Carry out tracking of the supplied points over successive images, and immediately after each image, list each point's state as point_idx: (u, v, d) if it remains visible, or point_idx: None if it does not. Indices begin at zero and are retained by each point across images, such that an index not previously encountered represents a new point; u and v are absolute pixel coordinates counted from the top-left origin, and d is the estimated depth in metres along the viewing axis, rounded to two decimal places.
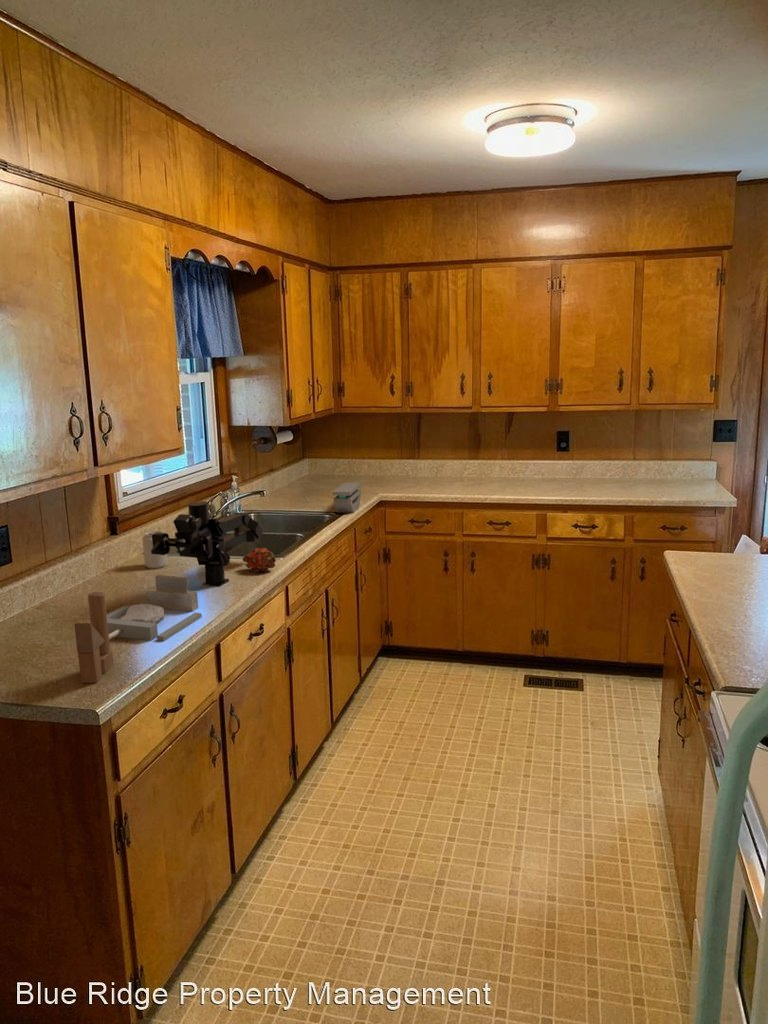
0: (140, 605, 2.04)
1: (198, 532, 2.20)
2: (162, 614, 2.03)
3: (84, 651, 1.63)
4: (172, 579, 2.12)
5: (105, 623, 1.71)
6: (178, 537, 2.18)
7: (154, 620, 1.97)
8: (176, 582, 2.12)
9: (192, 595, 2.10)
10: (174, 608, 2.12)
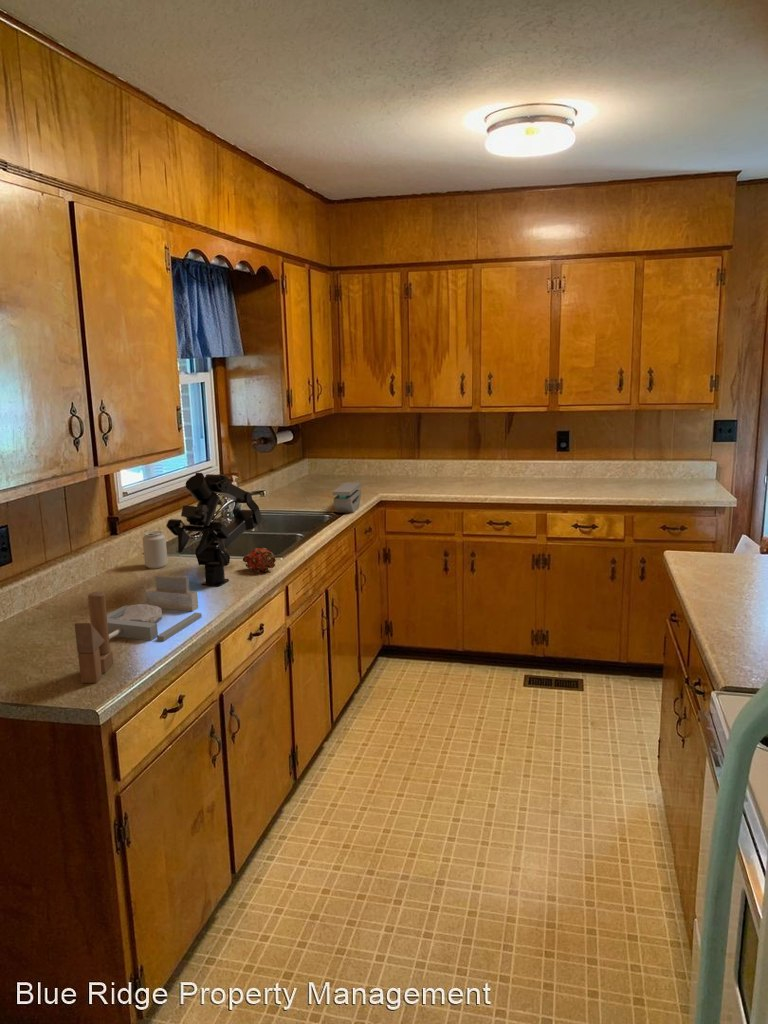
0: (138, 605, 2.04)
1: (207, 510, 2.25)
2: (160, 614, 2.03)
3: (84, 651, 1.63)
4: (172, 579, 2.12)
5: (105, 623, 1.71)
6: (191, 522, 2.24)
7: (152, 620, 1.97)
8: (176, 582, 2.12)
9: (192, 595, 2.10)
10: (174, 608, 2.12)
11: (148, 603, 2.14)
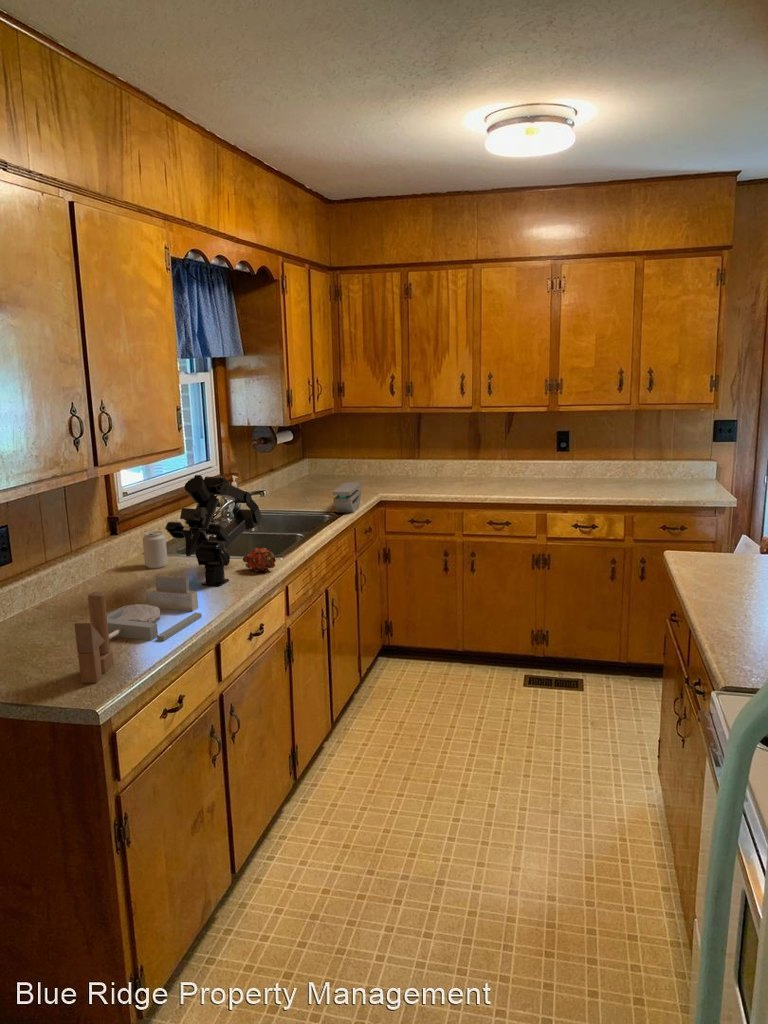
0: (136, 605, 2.04)
1: (206, 512, 2.24)
2: (158, 614, 2.03)
3: (84, 651, 1.63)
4: (172, 579, 2.12)
5: (105, 623, 1.71)
6: (190, 524, 2.24)
7: (150, 620, 1.97)
8: (176, 582, 2.12)
9: (192, 595, 2.10)
10: (174, 608, 2.12)
11: (148, 603, 2.14)
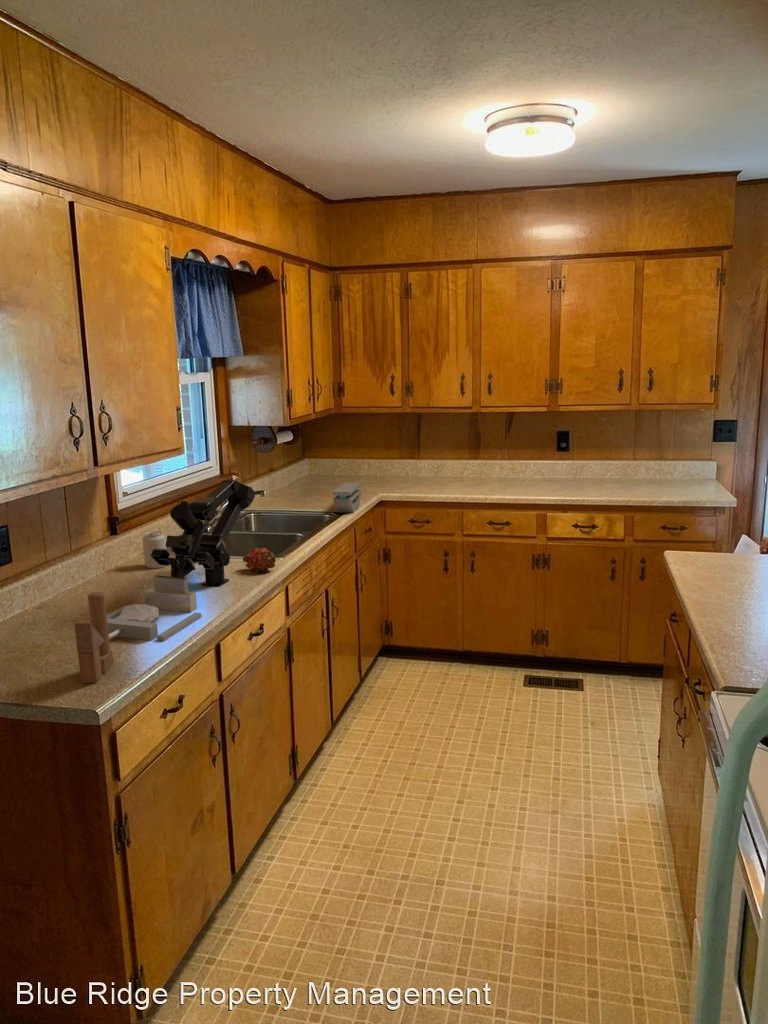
0: (135, 605, 2.04)
1: (192, 539, 2.18)
2: (157, 614, 2.03)
3: (84, 651, 1.63)
4: (171, 580, 2.11)
5: (105, 623, 1.71)
6: (176, 552, 2.17)
7: (149, 620, 1.97)
8: (175, 583, 2.11)
9: (191, 596, 2.09)
10: (173, 609, 2.11)
11: (146, 604, 2.13)
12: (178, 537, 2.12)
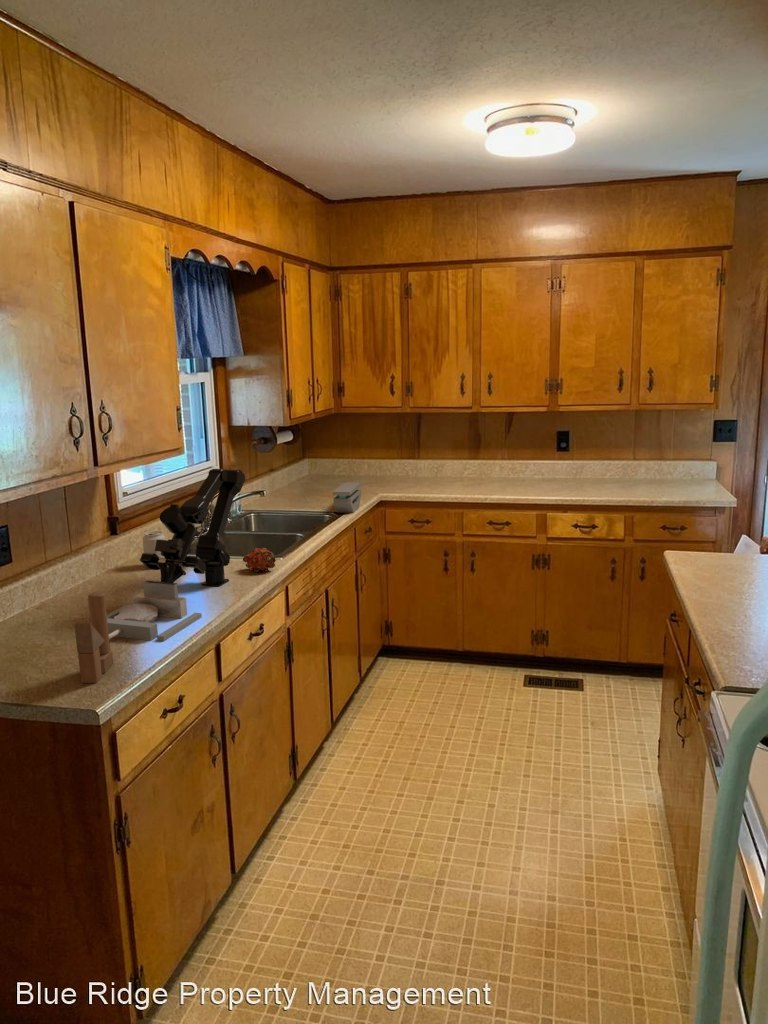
0: (134, 604, 2.04)
1: (182, 543, 2.13)
2: (156, 613, 2.03)
3: (84, 651, 1.63)
4: (160, 585, 2.06)
5: (105, 623, 1.71)
6: (165, 556, 2.12)
7: (147, 619, 1.97)
8: (164, 588, 2.06)
9: (181, 602, 2.04)
10: (162, 615, 2.06)
11: None
12: (168, 541, 2.07)
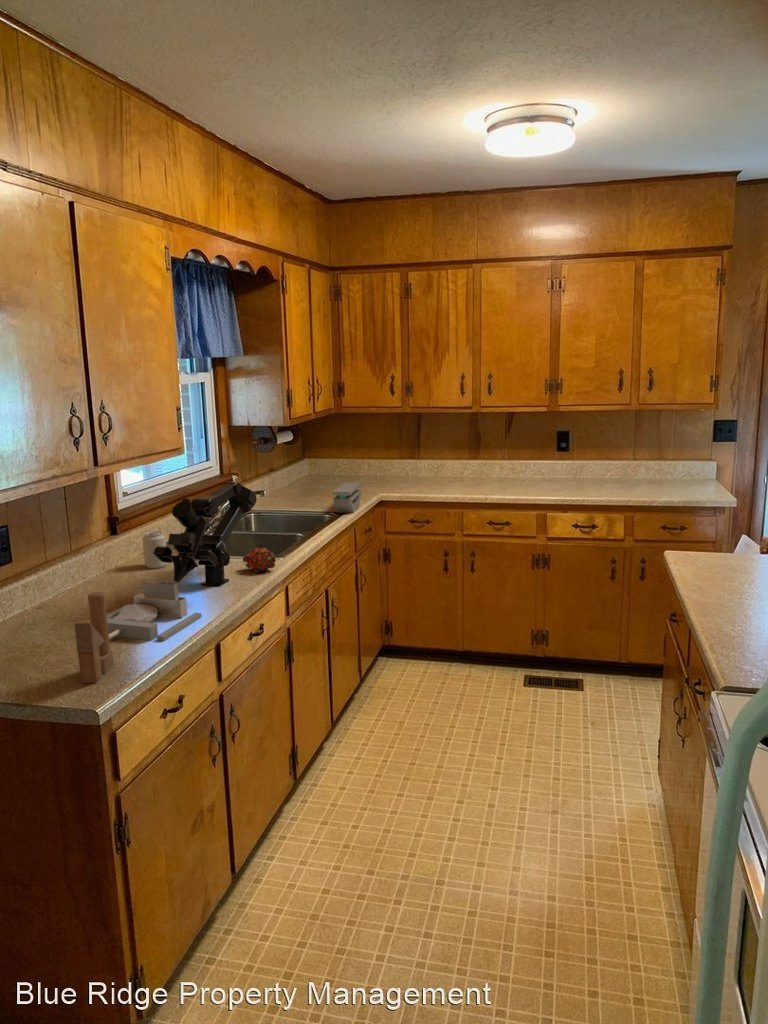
0: (134, 605, 2.04)
1: (194, 537, 2.19)
2: (155, 614, 2.03)
3: (84, 651, 1.63)
4: (160, 585, 2.06)
5: (105, 623, 1.71)
6: (178, 549, 2.18)
7: (146, 620, 1.97)
8: (164, 588, 2.06)
9: (181, 602, 2.04)
10: (162, 615, 2.06)
11: None
12: (180, 535, 2.13)
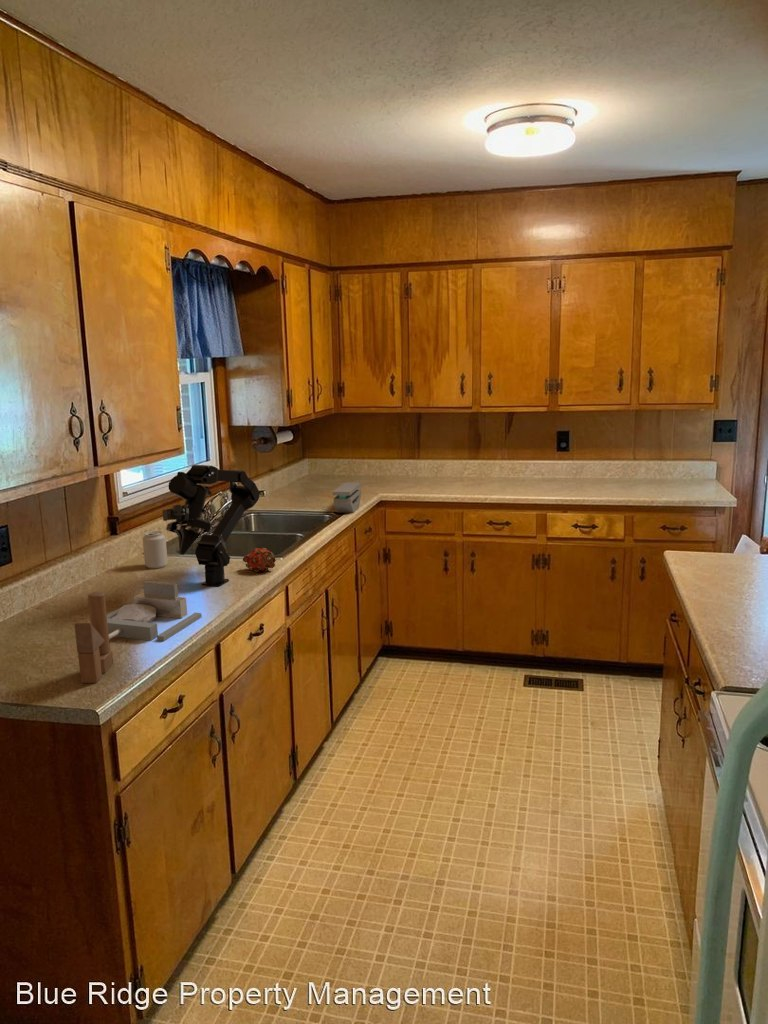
0: (132, 605, 2.04)
1: (188, 507, 2.20)
2: (154, 614, 2.03)
3: (84, 651, 1.63)
4: (160, 585, 2.06)
5: (105, 623, 1.71)
6: (181, 522, 2.22)
7: (145, 620, 1.97)
8: (164, 588, 2.06)
9: (181, 602, 2.04)
10: (162, 615, 2.06)
11: None
12: (167, 510, 2.16)
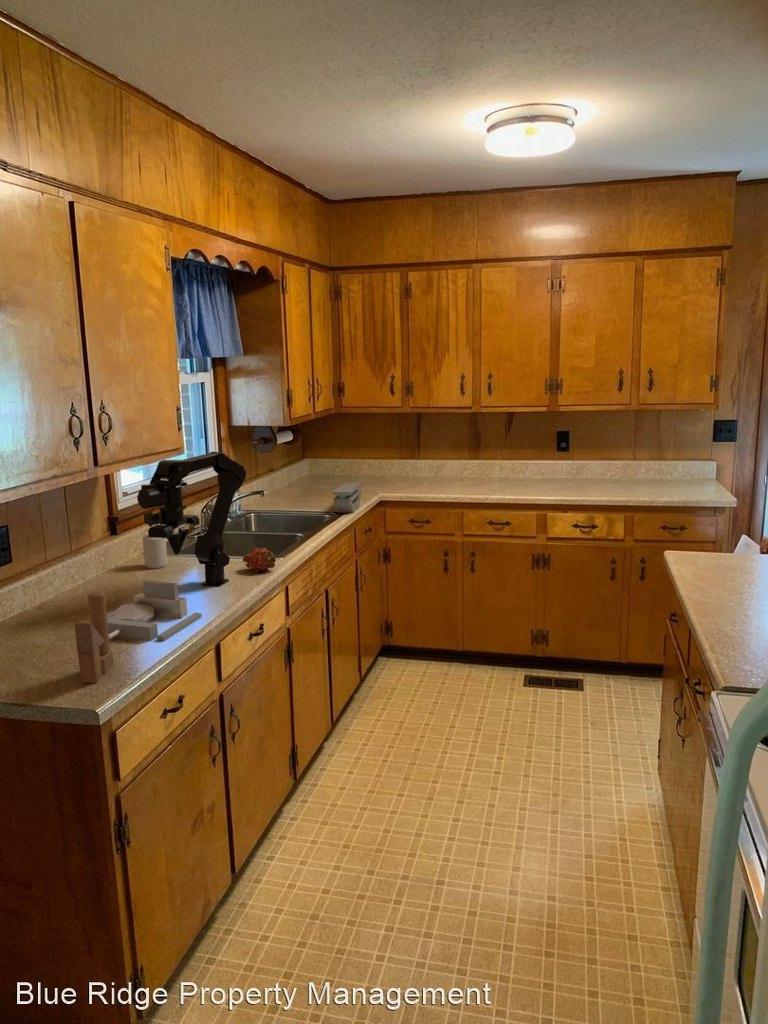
0: (130, 605, 2.05)
1: (161, 510, 2.17)
2: (152, 614, 2.03)
3: (84, 651, 1.63)
4: (160, 585, 2.06)
5: (105, 623, 1.71)
6: None
7: (143, 620, 1.98)
8: (164, 588, 2.06)
9: (181, 602, 2.04)
10: (162, 615, 2.06)
11: None
12: None
